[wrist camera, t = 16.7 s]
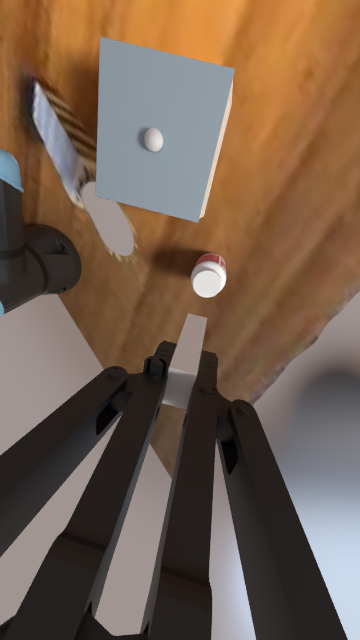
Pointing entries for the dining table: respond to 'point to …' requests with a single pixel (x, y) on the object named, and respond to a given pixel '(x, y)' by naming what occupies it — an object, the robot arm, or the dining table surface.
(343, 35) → the dining table surface
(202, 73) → the lid
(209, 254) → the pill bottle
